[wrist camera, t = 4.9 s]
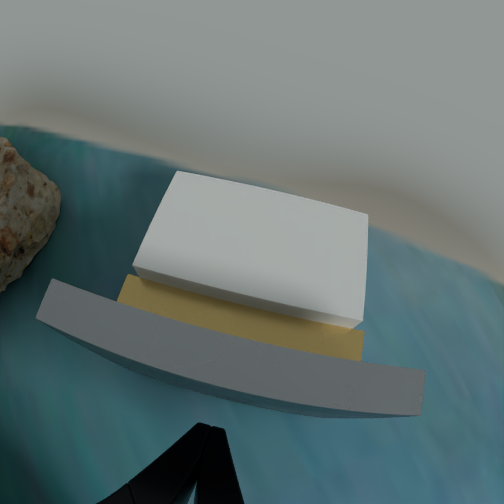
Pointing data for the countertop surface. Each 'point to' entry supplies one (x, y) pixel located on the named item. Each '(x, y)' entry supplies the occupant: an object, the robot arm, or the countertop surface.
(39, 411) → the countertop surface
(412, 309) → the countertop surface
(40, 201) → the rock
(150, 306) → the spacer
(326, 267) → the block
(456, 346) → the countertop surface
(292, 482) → the countertop surface
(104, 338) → the grey piece
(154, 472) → the robot arm
